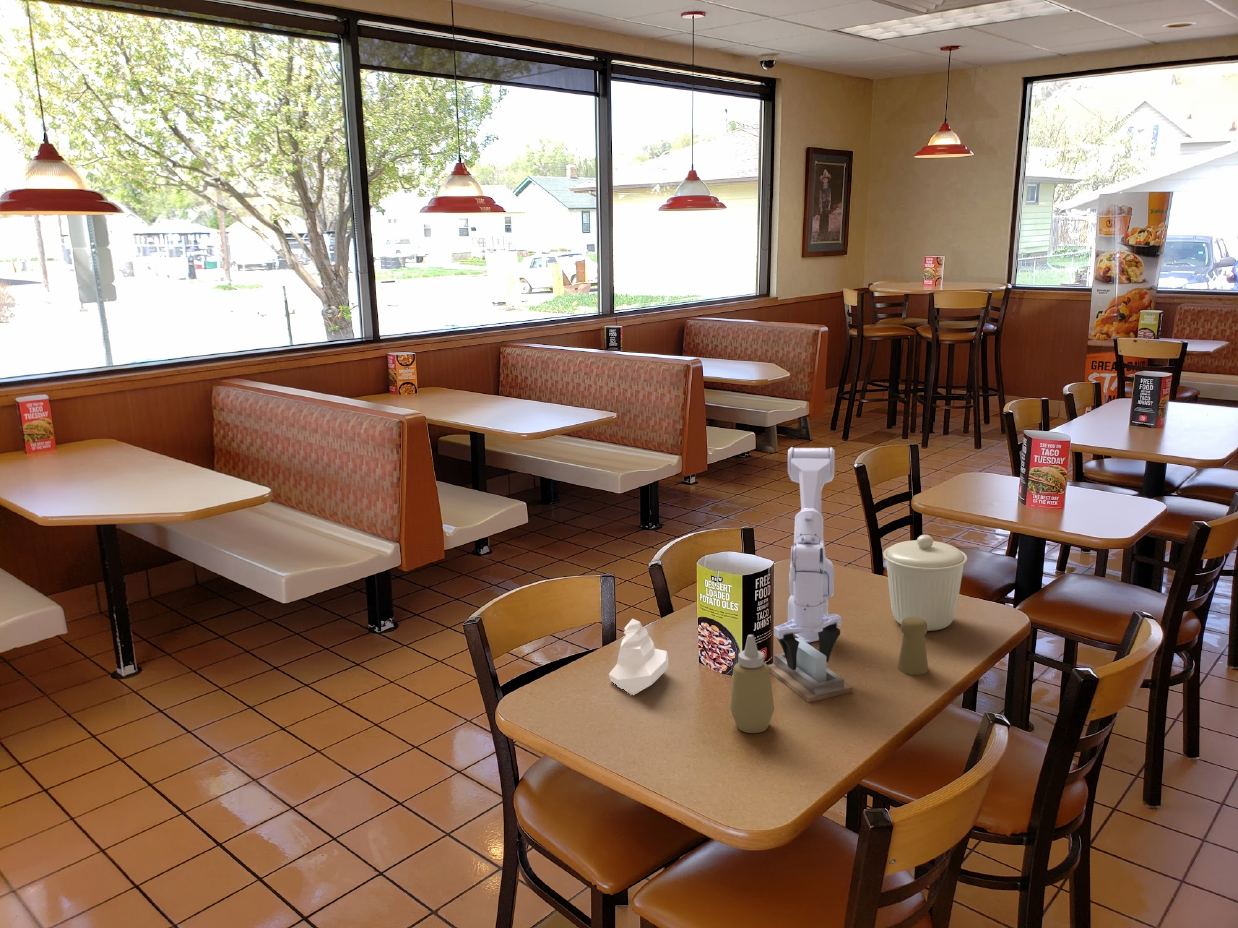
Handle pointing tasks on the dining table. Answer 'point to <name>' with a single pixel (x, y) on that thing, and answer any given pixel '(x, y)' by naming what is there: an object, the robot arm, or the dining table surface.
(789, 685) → the track
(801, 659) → the pale blue rectangular brick
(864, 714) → the dining table surface
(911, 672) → the cork
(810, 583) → the robot arm
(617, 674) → the soft serve ice cream
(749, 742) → the dining table surface
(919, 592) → the canister
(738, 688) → the squeeze bottle
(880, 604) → the dining table surface
